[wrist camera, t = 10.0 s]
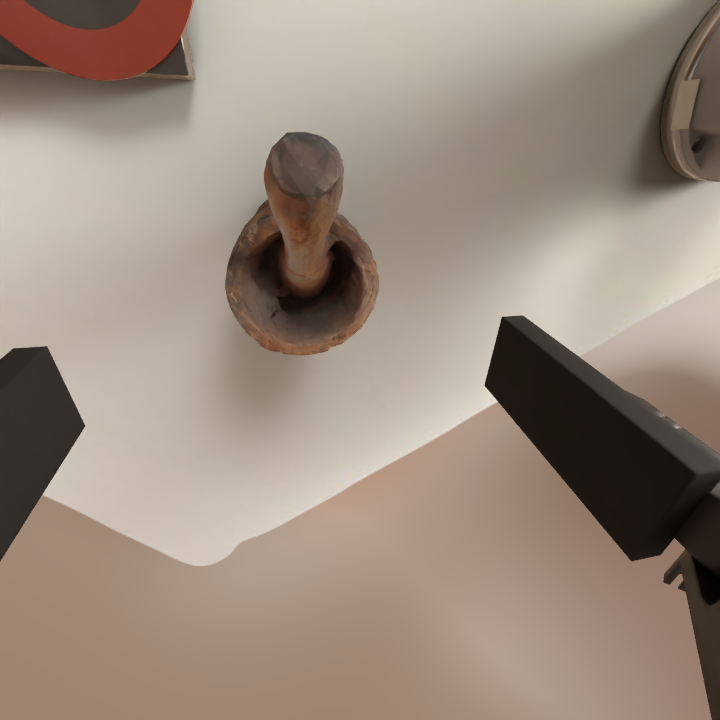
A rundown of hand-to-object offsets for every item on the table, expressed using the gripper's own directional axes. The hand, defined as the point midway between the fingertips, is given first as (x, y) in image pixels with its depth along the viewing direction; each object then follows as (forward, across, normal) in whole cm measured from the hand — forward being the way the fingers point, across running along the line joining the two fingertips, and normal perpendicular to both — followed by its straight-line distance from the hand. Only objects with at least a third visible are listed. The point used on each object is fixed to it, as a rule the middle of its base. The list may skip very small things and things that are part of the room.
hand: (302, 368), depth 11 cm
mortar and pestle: (+24, 0, 0) cm, 24 cm away
